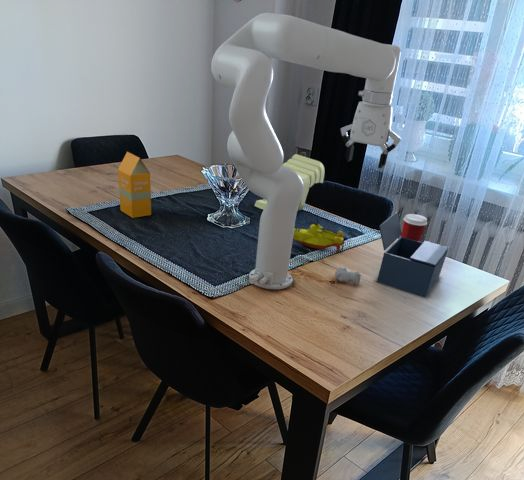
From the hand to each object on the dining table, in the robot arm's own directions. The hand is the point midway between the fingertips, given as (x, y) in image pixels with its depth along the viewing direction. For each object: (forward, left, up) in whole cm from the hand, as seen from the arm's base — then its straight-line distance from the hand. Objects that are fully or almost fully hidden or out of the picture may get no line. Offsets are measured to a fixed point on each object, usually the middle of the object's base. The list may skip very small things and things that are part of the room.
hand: (364, 164), depth 142 cm
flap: (+1, -12, -17) cm, 21 cm away
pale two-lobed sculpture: (-14, -6, -31) cm, 34 cm away
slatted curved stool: (+30, +40, -31) cm, 59 cm away
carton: (+1, -21, -31) cm, 37 cm away
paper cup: (+18, -15, -31) cm, 39 cm away
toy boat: (+4, +12, -31) cm, 33 cm away
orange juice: (-13, +76, -31) cm, 83 cm away
